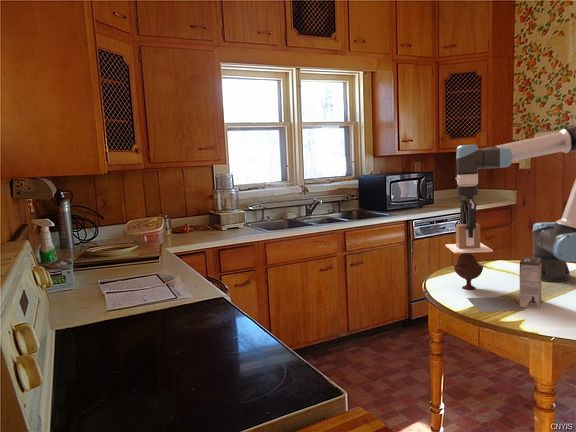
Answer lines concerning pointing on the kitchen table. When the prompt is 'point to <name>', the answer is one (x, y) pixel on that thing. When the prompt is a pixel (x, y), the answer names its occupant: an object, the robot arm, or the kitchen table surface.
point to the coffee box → (530, 282)
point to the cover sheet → (468, 250)
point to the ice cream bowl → (468, 269)
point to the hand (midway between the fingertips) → (468, 244)
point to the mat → (494, 304)
